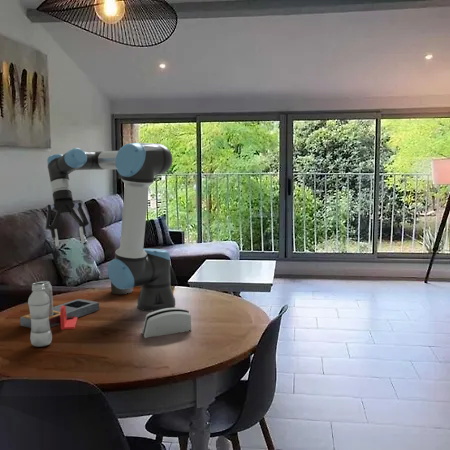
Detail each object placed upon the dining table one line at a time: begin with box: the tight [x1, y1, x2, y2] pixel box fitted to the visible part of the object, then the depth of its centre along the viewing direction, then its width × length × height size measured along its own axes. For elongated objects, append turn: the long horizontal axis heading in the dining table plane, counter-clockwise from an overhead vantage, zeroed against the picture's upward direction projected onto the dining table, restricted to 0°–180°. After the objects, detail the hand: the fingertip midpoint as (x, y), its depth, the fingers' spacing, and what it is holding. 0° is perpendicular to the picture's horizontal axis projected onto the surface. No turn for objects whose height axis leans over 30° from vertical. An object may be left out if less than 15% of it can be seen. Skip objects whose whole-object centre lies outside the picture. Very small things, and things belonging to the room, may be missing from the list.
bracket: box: [60, 305, 78, 331], centre depth 186 cm, size 12×4×8 cm, turn 11°
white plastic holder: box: [141, 307, 192, 339], centre depth 176 cm, size 17×5×10 cm, turn 114°
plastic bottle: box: [27, 282, 53, 348], centre depth 164 cm, size 6×7×20 cm
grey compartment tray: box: [19, 298, 100, 329], centre depth 194 cm, size 11×28×3 cm, turn 150°
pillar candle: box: [110, 281, 134, 295], centre depth 231 cm, size 10×10×15 cm
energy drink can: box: [36, 280, 54, 317], centre depth 187 cm, size 6×6×15 cm
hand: (70, 244), depth 209 cm, fingers open, 10 cm apart
